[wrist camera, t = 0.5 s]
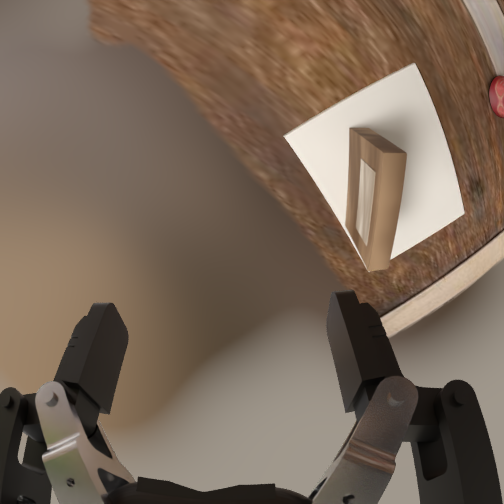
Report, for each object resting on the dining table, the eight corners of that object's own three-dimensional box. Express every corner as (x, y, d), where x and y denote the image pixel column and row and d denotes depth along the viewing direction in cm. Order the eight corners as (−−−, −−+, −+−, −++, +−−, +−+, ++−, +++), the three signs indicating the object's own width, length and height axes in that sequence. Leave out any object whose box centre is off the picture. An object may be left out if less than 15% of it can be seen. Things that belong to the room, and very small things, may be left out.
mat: (412, 63, 26) (415, 63, 26) (462, 211, 39) (464, 213, 38) (283, 135, 33) (284, 136, 32) (367, 269, 46) (368, 272, 45)
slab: (344, 225, 40) (367, 271, 32) (348, 127, 32) (382, 152, 23) (361, 223, 40) (387, 268, 32) (368, 127, 31) (407, 153, 23)
